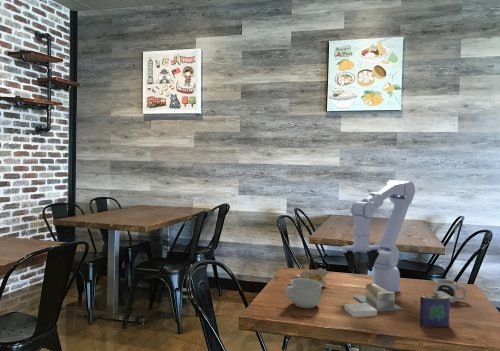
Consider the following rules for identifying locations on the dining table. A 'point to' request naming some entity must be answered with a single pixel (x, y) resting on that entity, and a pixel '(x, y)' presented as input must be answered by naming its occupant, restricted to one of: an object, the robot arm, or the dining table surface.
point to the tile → (360, 310)
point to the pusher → (380, 296)
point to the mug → (449, 289)
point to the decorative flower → (313, 275)
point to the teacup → (304, 292)
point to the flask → (434, 310)
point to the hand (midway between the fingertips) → (360, 270)
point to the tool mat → (365, 300)
